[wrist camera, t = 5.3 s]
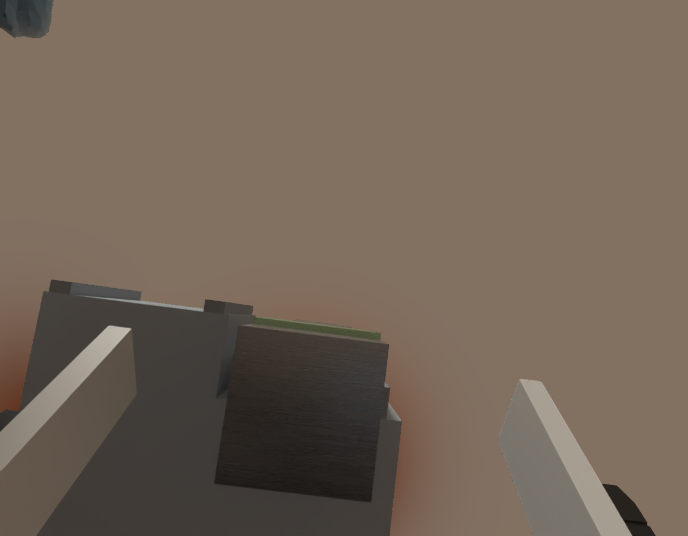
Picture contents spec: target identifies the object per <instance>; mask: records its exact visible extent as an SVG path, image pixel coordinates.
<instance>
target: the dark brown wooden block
mask: <svg viewBox="0 0 688 536" xmlns="http://www.w3.org/2000/svg"><path fill="white" fill-rule="evenodd" d="M380 337H381V333H378V332H375V331H369V330H361V329H353V328H351V327H349V326H343V325H336V324H327V323H320V322H311V321H304V320H283V319H275V318H268V317H254V318H253V324H245V325H238V331H237V337H236V344H235V350H234V357H233V363H232V370H231V376H230V383H229V389H228V396H227V402H226V409H225V415H224V421H223V428H222V434H221V441H220V447H219V454H218V460H217V467H216V473H215V480H214V484H219V485H227V486H236V487H244V488H252V489H261V490H269V491H277V492H286V493H294V494H303V495H311V496H319V497H328V498H336V499H345V500H353V501H361V502H370V503H371V498H372V490H373V481H374V472H375V463H376V455H377V446H378V437H379V428H380V419H381V411H382V402H383V393H384V384H385V376H386V367H387V358H388V348H389V344H387V343H385V342H383V341H380Z"/></svg>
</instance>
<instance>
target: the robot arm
mask: <svg viewBox="0 0 688 536" xmlns="http://www.w3.org/2000/svg"><path fill="white" fill-rule="evenodd" d="M52 6H53V0H0V28H2V29H3V30H5V31H6V32H7V33H9V34H10V35H11V36H13V37H14V38H15V37H21V36H26V37H31V38H41V37H43V36H45V35H46V34H47V33H48V31H49V26H50V23H51V11H52ZM136 395H137V388H136V376H135V363H134V351H133V338H132V328H124V327H116V326H108V327H107V328H106V329H105V330H104V331H103V332H102V333H101V334H100V335H99V336H98V337H97V338H96V339H95V340H94V341H92V342H91V343H90V344H89V345H88V346H87V347H86V348H85V349H84V350H83V351H82V352H81V353H80V354H79V355H78V356H77V357H76V358H75V359H74V360H73V361H72V362H71V363H70V364H69V365H68V366H67V367H66V368H65V369H64V370H63V371H62V372H61V373H60V374H59V375H58V376H57V377H56V378H55V379H54V380H53V381H52V382H51V383H50V384H49V385H48V386H47V387H46V388H45V389H43V390H42V391H41V392H40V393H39V394H38V395H37V396H36V397H35V398H34V399H33V400H32V401H31V402H30V403H29V404H28V405H27V406H26V407H25V408H24V409H23V410H22V411H21V412H19V411H11V410H5V411H3V412H1V413H0V536H36V535H37V534H38V532H39V531H40V530H41V528H42V527H43V525H44V524H45V522H46V521H47V520H48V518H49V517H50V515H51V514H52V513H53V511H54V510H55V508H56V507H57V506H58V504H59V503H60V501H61V500H62V499H63V497H64V496H65V494H66V493H67V492H68V490H69V489H70V487H71V486H72V485H73V483H74V482H75V480H76V479H77V477H78V476H79V475H80V473H81V472H82V470H83V469H84V468H85V466H86V465H87V463H88V462H89V461H90V459H91V458H92V456H93V455H94V454H95V452H96V451H97V449H98V448H99V447H100V445H101V444H102V442H103V441H104V440H105V438H106V437H107V435H108V434H109V432H110V431H111V430H112V428H113V427H114V425H115V424H116V423H117V421H118V420H119V418H120V417H121V416H122V414H123V413H124V411H125V410H126V409H127V407H128V406H129V404H130V403H131V402H132V400H133V399H134V397H135V396H136ZM497 440H498V443H499V446H500V448H501V451H502V454H503V456H504V459H505V462H506V464H507V467H508V470H509V472H510V475H511V478H512V481H513V483H514V486H515V488H516V491H517V494H518V497H519V499H520V502H521V505H522V507H523V510H524V512H525V515H526V518H527V521H528V523H529V526H530V529H531V531H532V534H533V536H655V534H654V532H653V531H652V529H651V528H650V527H649V526H647V522H646V520H645V518H644V517H643V515H642V514H641V512H640V511H639V509H638V508H637V506H636V504H635V503H634V502H633V501H632V500H631V499H630V498H629V497H628V496H627V495H626V494H625V493H624V492H623V491H622V490H621V489H620V488H619V487H618V486H615V485H607V484H601V482H600V480H599V479H598V477H597V475H596V473H595V472H594V470H593V469H592V467H591V465H590V463H589V462H588V460H587V458H586V456H585V455H584V453H583V451H582V450H581V448H580V446H579V445H578V443H577V441H576V440H575V438H574V436H573V435H572V433H571V431H570V429H569V428H568V426H567V424H566V423H565V421H564V419H563V418H562V416H561V414H560V413H559V411H558V409H557V407H556V406H555V404H554V402H553V401H552V399H551V397H550V396H549V394H548V392H547V390H546V389H545V387H544V385H543V384H542V382H540V381H532V380H525V379H519V381H518V383H517V386H516V389H515V392H514V395H513V398H512V400H511V403H510V406H509V408H508V411H507V415H506V417H505V420H504V423H503V425H502V428H501V431H500V434H499V437H498V439H497Z"/></svg>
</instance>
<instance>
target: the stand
mask: <svg viewBox="0 0 688 536" xmlns="http://www.w3.org/2000/svg"><path fill="white" fill-rule="evenodd" d="M140 298H141V292H139V291H132V290H125V289H117V288H109V287H103V286H95V285H88V284H80V283H73V282H65V281H58V280H51V284H50V288H49V292H46V291H44V292H43V297H42V301H41V306H40V311H39V315H38V320H37V325H36V330H35V335H34V339H33V344H32V349H31V354H30V359H29V363H28V368H27V373H26V378H25V383H24V387H23V393H22V398H21V402H20V407H19V412H21V411H22V410H23V409H24V408H25V407H26V406H27V405H28V404H29V403H30V402H31V401H32V400H33V399H34V398H35V397H36V396H37V395H38V394H39V393H40V392H41V391H42V390H43V389H45V388H46V387H47V386H48V385H49V384H50V383H51V382H52V381H53V380H54V379H55V378H56V377H57V376H58V375H59V374H60V373H61V372H62V371H63V370H64V369H65V368H66V367H67V366H68V365H69V364H70V363H71V362H72V361H73V360H74V359H75V358H76V357H77V356H78V355H79V354H80V353H81V352H82V351H83V350H84V349H85V348H86V347H87V346H88V345H89V344H90V343H91V342H92V341H94V340H95V339H96V338H97V337H98V336H99V335H100V334H101V333H102V332H103V331H104V330H105V329H106V328H107V327H108V326H116V327H124V328H132V338H133V351H134V363H135V376H136V388H137V395H136V396H135V397H134V399H133V400H132V402H131V403H130V404H129V406H128V407H127V409H126V410H125V411H124V413H123V414H122V416H121V417H120V418H119V420H118V421H117V423H116V424H115V425H114V427H113V428H112V430H111V431H110V432H109V434H108V435H107V437H106V438H105V440H104V441H103V442H102V444H101V445H100V447H99V448H98V449H97V451H96V452H95V454H94V455H93V456H92V458H91V459H90V461H89V462H88V463H87V465H86V466H85V468H84V469H83V470H82V472H81V473H80V475H79V476H78V477H77V479H76V480H75V482H74V483H73V485H72V486H71V487H70V489H69V490H68V492H67V493H66V494H65V496H64V497H63V499H62V500H61V501H60V503H59V504H58V506H57V507H56V508H55V510H54V511H53V513H52V514H51V515H50V517H49V518H48V520H47V521H46V522H45V524H44V525H43V527H42V528H41V530H40V531H39V532H38V534H37V535H36V536H389V535H390V526H391V517H392V507H393V498H394V489H395V479H396V471H397V461H398V452H399V443H400V434H401V425H402V421H401V419H400V418H399V417H398V415H397V414H396V412H395V411H394V410H393V408H392V407H391V405H390V404H389V403H388V401H389V392H390V387H389V386H388V385H387V384H386V383H385V384H384V393H383V402H382V411H381V419H380V428H379V437H378V446H377V455H376V463H375V472H374V481H373V490H372V498H371V503H370V502H361V501H353V500H345V499H336V498H328V497H319V496H311V495H303V494H294V493H286V492H277V491H269V490H261V489H252V488H244V487H236V486H227V485H219V484H214V480H215V473H216V467H217V460H218V454H219V447H220V441H221V434H222V428H223V421H224V415H225V409H226V402H227V396H228V389H229V383H230V376H231V370H232V363H233V357H234V350H235V344H236V337H237V331H238V325H245V324H253V318H254V317H256V316H255V315H252V312H253V306H249V305H242V304H235V303H229V302H221V301H213V300H205V305H204V309H201V308H193V307H185V306H177V305H169V304H162V303H154V302H146V301H140Z"/></svg>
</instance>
